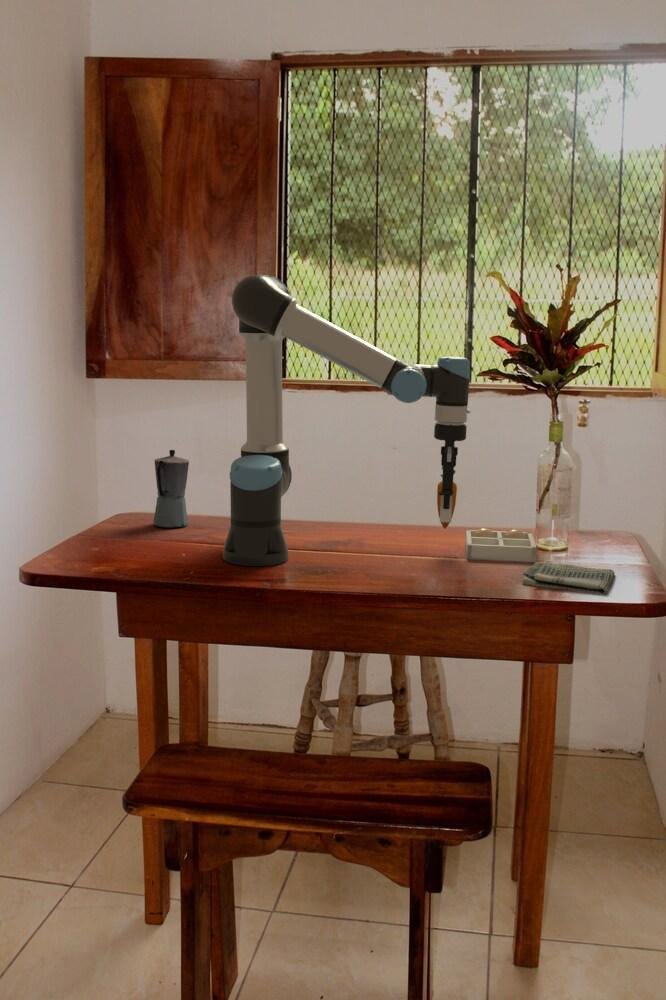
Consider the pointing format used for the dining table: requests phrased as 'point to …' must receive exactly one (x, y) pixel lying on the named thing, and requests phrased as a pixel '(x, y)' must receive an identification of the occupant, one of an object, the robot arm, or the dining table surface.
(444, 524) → the carrot
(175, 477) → the moka pot
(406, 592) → the dining table surface
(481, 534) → the brown egg left
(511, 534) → the brown egg right
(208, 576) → the dining table surface
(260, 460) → the robot arm
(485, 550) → the carton
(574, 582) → the dish towel
